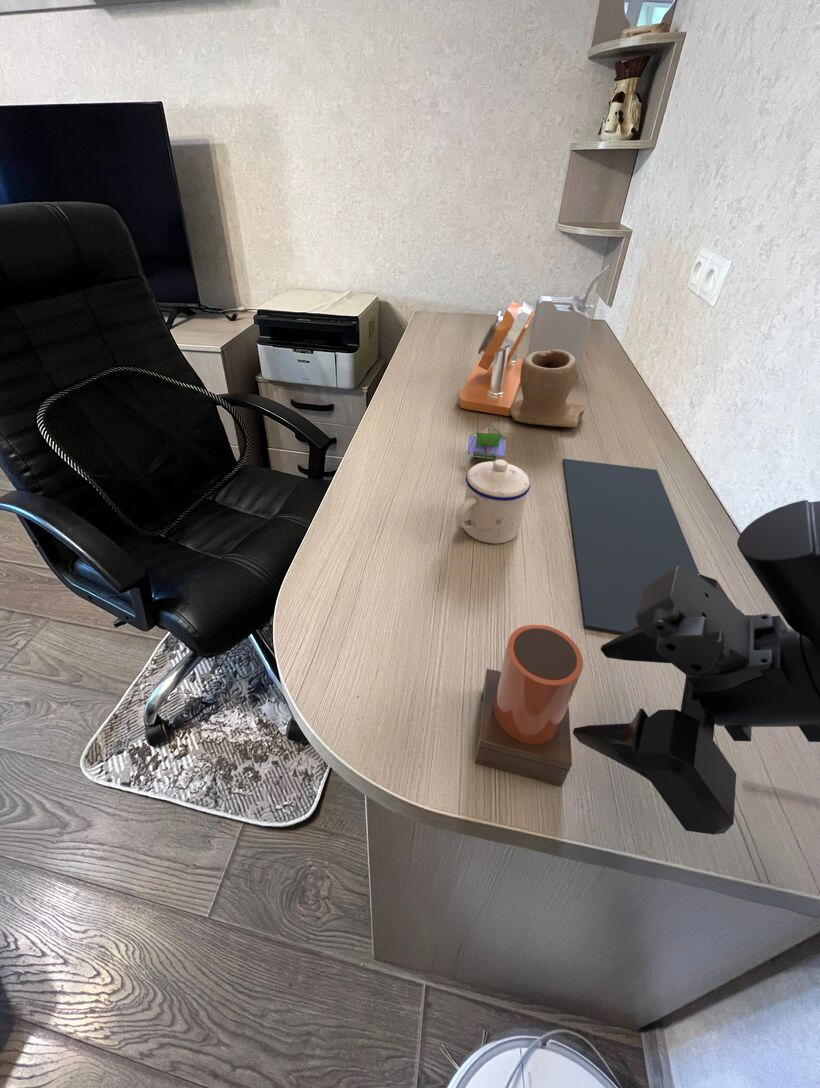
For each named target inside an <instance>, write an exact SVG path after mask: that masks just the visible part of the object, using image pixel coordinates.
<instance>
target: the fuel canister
mask: <svg viewBox="0 0 820 1088" xmlns="http://www.w3.org/2000/svg"><path fill="white" fill-rule="evenodd" d="M610 270H612V267H611V266H610V265H607V266H606V267H604V268H603V269H602V270H601V271H600V272H599V273H597V274H596V276H594V278H593V279H592V280H591V281H590V283H589V286H588V287H587V289H586V290H585V293H582V294H580V295H577V296H576V295H573V296H571V297H565V296H564V297H561V296H549V295H540V296H539V297H538V298H537V300H536V303H535V309H534V310H535V313H534V314H533V318H532V324H531V331H530V337H529V341H528V347H527V352H526V357H527V356H528V355H529V354H531V353H533V352H536V351H548V350H553V349H557V350H562V351H566V352H568V353H570V354H571V355H573V356H574V358H575V360H576V363H577V372H579V370H580V365H581V362H582V358H583V353H584V351H585V345H586V342H587V338H588V333H589V330H590V326H591V321H592V319H591V318H590V316H589V315H588V313H587V310H589V309H592V308H594V307H595V305H593V304H590V303H588V302H589V301H588V300H589V297H590V294H591V292H592V291H593V289H594V288H595V285H596V283H597V282H598V281H600V280H601V279H602V278H603V276H605V275H606V274H607V273H608V272H609V271H610ZM573 301H575V302H576V304H575V305H574V302H573Z"/></svg>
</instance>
